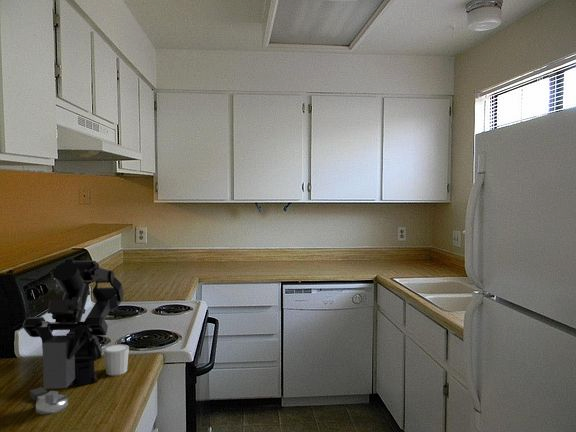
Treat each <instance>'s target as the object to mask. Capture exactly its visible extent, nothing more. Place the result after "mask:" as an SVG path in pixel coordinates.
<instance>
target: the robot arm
mask: <svg viewBox="0 0 576 432" xmlns="http://www.w3.org/2000/svg"><path fill="white" fill-rule="evenodd" d="M52 276H53V278H54V280H55V282H56V283H57V285H58V286H59V288H60V290H61V291H63V292H64V293H63V297H62V299H49V302H48V308H47V314H50V315H51V319H52V320H55V321H48V320H46V319H45V318H44V316H29V317H27V318H26V319H25V320H24V321H23V323H22V326H21V327H22V328H23V330H24V331H25V332H26V333H27V335H29V337H32V338H40V339H41V345H42V346H41V347H42V350H43V342H45V341H46V340H47V339H49V338H50V337H51V336H54V335H53V331H68V332H67V333H66V334H65V335H74V338H73V341H72V343H71V346H70V349H69V353H68V359H71V358H72V357H73V356H74V354H75V379H74V380H73V381H72V383H71V384H70V387H77V386H82V385H86V384H92V383H97V382H98V378H97V374H96V372H95V362H96V361H98V360H100V359H102V353H103V351H102V349H103V347H102V345H101V343H100V342H99V340H98V337H101V336H102V337H105V336H107V333H108V329H109V328H108V324H107V321H106V319H107V317H108V315H109V313H110V312H111V311H112V310H114V309H117V308H118V307H119V306H120V304H121V303H122V302H123V300H124V289H123V285H122V282H121V281H119V280H118V278H117V277H116V276H115V272H114V271H113V270H112V269H106V268H102V267H100V264H99V263H98V262H97V261H96V260H75V259H74V258H65V260H64V262H62V263H60V264H58V265H57V266H56V267H55V268H54V269H53V270H52ZM88 282H95V285H94V287H93V289H92V292H91V290H90V289H91V287H90V285H89V284H88ZM101 283H102V284H103V283H104V284H105V283H106V284H107V283H109V285H110V286H112V287H110V286H109V287H107V286H106V287H98V286H99V285H98V284H101ZM91 293H92V296H93V300H94V305H93V306H92V308H91V310H90V311H89V313H88V315H87V316H86V318H85V320H84V321H82V319H83V318H82V317H83V315H85V313H86V309H85V308H86V303H87V301H88V300H87V299H88V297H89V296H91Z"/></svg>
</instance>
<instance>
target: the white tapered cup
mask: <svg viewBox="0 0 576 432" xmlns="http://www.w3.org/2000/svg"><path fill="white" fill-rule="evenodd" d="M129 350H130V347H129V345H127V344H124V343H123V344H119V343H118V344H111V345H108V346H106V347H105V348H104V349H103V355H104V361H105V362H104V365H105V372H106V375H108V376H120V375H122V374H125V373H127V371H128V365H129V364H128V363H129V353H130V352H129Z"/></svg>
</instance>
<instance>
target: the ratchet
mask: <svg viewBox="0 0 576 432" xmlns="http://www.w3.org/2000/svg"><path fill="white" fill-rule="evenodd" d="M29 397H30V398H31V399H32V400H34V401H35V402H36V403H35V413H37V414H38V415H52V414H56V413H58V412H61V411H63V410H66V408H67V407H68V406H69V405H68V404H69V402H68V400H69V399H68V396H67V395H65V394H59V391H58V390H49V391H48V389H44V386H43V387H42V386H40V387H37V388H34V389H30V390H29Z"/></svg>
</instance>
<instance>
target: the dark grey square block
mask: <svg viewBox="0 0 576 432" xmlns="http://www.w3.org/2000/svg"><path fill="white" fill-rule="evenodd" d="M73 338H74V335H66V334H65V335H53V336H51V337H50V338H49V339H47V340H46V341H45V342H43V349H42V370H43V372H42V373H43V374H42V376H43V379H42V380H43V388H44V389H45V390H48V389H67V388H68V387H69V386H71V383H72V381H73V380H74V379H75V354H74V356H73V357H72V358H71V359H68V353H69V349H70V346H71V343H72V341H73Z"/></svg>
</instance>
